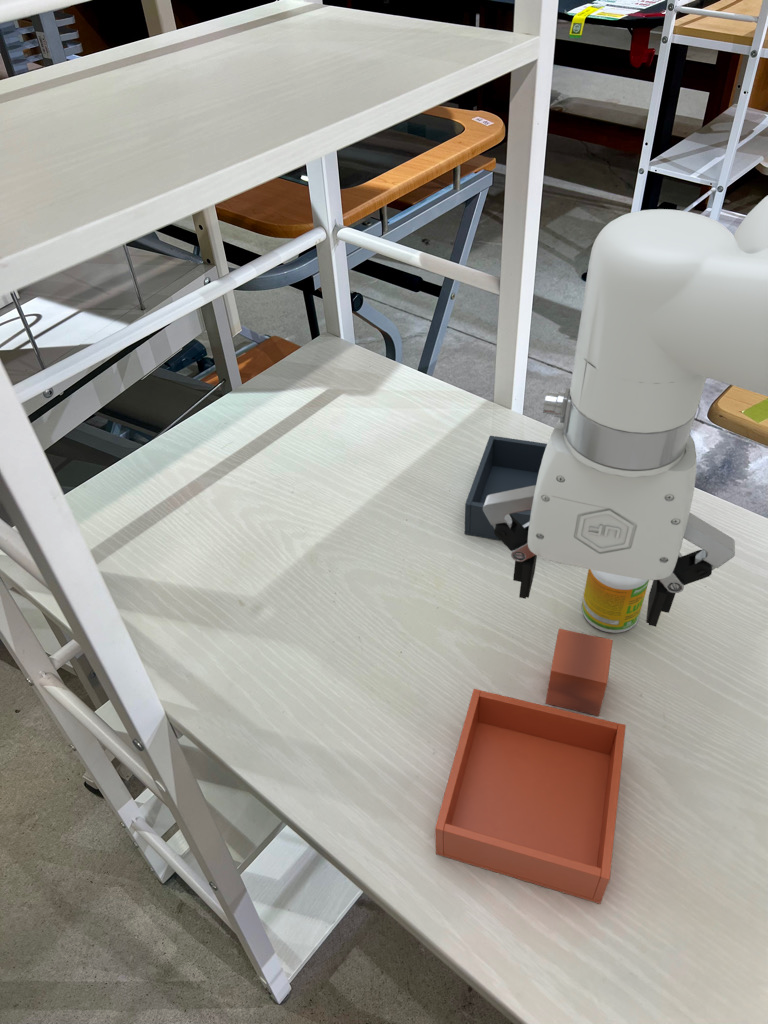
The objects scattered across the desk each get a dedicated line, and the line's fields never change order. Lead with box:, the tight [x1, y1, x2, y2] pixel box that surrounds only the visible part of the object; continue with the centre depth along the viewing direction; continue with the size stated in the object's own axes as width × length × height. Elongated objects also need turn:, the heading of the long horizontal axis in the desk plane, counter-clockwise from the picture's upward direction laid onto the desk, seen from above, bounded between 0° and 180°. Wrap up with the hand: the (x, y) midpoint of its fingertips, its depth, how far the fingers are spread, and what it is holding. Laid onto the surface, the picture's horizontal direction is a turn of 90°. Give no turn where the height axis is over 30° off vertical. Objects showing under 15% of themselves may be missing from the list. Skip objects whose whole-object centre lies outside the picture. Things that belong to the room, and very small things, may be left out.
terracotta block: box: [545, 628, 614, 717], centre depth 65 cm, size 5×5×5 cm
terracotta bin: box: [434, 688, 627, 905], centre depth 58 cm, size 12×12×4 cm
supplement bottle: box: [581, 569, 650, 634], centre depth 69 cm, size 5×5×10 cm
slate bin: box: [464, 435, 548, 542], centre depth 82 cm, size 12×12×4 cm
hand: (588, 598), depth 58 cm, fingers open, 9 cm apart
